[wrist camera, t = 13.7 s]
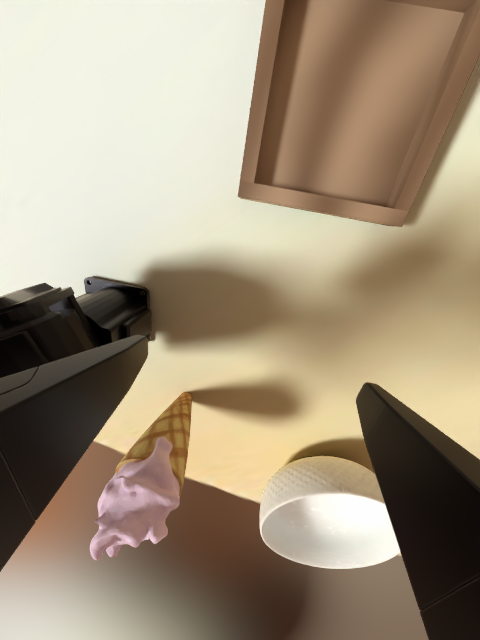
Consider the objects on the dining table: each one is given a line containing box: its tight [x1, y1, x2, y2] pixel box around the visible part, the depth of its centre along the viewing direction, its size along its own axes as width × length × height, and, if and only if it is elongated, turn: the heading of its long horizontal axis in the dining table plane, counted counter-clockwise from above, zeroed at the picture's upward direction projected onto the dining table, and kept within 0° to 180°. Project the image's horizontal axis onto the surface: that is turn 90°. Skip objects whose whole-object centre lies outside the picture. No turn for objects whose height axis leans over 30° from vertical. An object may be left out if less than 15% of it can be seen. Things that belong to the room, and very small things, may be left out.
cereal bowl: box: [260, 456, 400, 569], centre depth 29 cm, size 17×17×7 cm
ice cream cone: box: [90, 392, 192, 560], centre depth 21 cm, size 7×6×15 cm
